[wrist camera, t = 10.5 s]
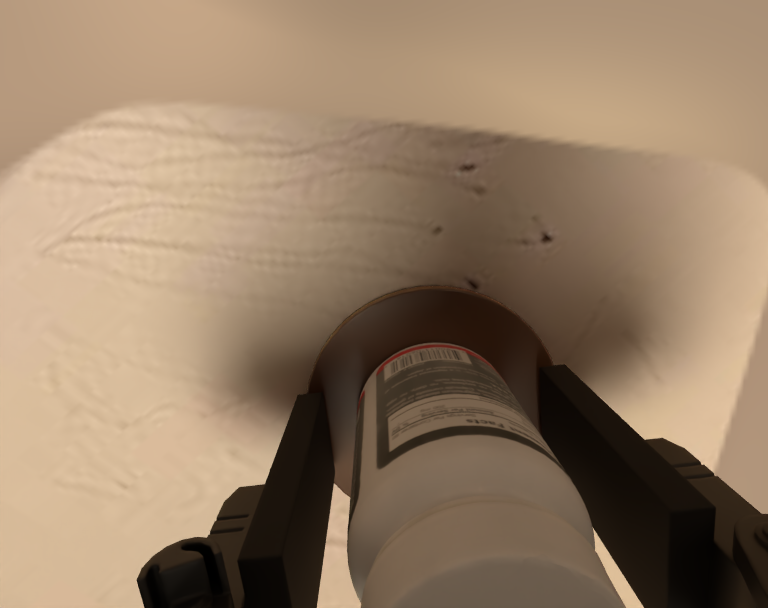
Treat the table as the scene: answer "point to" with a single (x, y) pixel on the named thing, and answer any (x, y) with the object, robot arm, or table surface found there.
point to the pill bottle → (462, 495)
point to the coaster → (412, 327)
